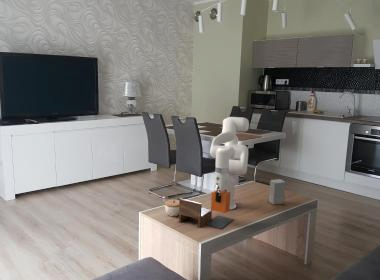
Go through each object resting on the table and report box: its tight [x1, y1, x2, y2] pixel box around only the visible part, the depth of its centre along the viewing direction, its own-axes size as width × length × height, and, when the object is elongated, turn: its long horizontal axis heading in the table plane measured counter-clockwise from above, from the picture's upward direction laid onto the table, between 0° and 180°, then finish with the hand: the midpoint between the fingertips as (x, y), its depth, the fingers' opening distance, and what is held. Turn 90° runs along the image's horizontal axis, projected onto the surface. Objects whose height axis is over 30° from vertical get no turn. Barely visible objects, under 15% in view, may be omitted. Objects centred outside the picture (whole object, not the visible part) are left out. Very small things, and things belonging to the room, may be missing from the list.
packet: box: [210, 190, 231, 214], centre depth 208 cm, size 6×9×11 cm, turn 58°
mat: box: [205, 215, 234, 230], centre depth 211 cm, size 16×10×1 cm, turn 148°
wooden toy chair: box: [178, 197, 213, 228], centre depth 211 cm, size 14×14×14 cm
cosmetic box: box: [268, 178, 286, 206], centre depth 245 cm, size 8×7×16 cm
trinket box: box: [164, 199, 179, 217], centre depth 220 cm, size 11×11×9 cm
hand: (220, 200), depth 208 cm, fingers closed on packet, 6 cm apart
